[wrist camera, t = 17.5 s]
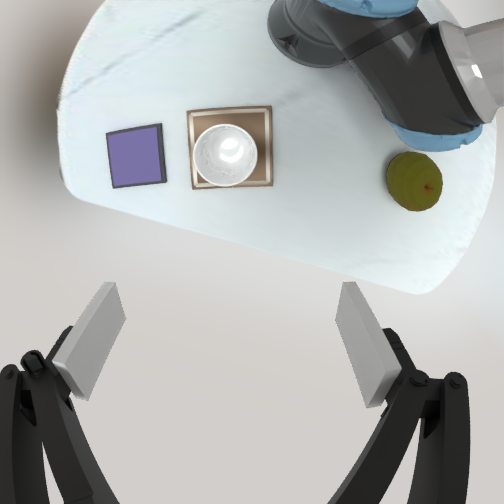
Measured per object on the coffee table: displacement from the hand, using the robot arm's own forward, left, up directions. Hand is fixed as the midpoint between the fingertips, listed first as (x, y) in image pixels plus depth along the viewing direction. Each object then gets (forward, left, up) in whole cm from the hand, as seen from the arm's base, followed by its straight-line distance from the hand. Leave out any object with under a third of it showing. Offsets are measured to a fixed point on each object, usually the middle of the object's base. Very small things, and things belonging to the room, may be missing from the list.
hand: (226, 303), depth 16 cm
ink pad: (-5, -17, -33) cm, 38 cm away
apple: (-1, +28, -33) cm, 44 cm away
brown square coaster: (-5, -1, -33) cm, 33 cm away
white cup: (-5, -1, -32) cm, 33 cm away
